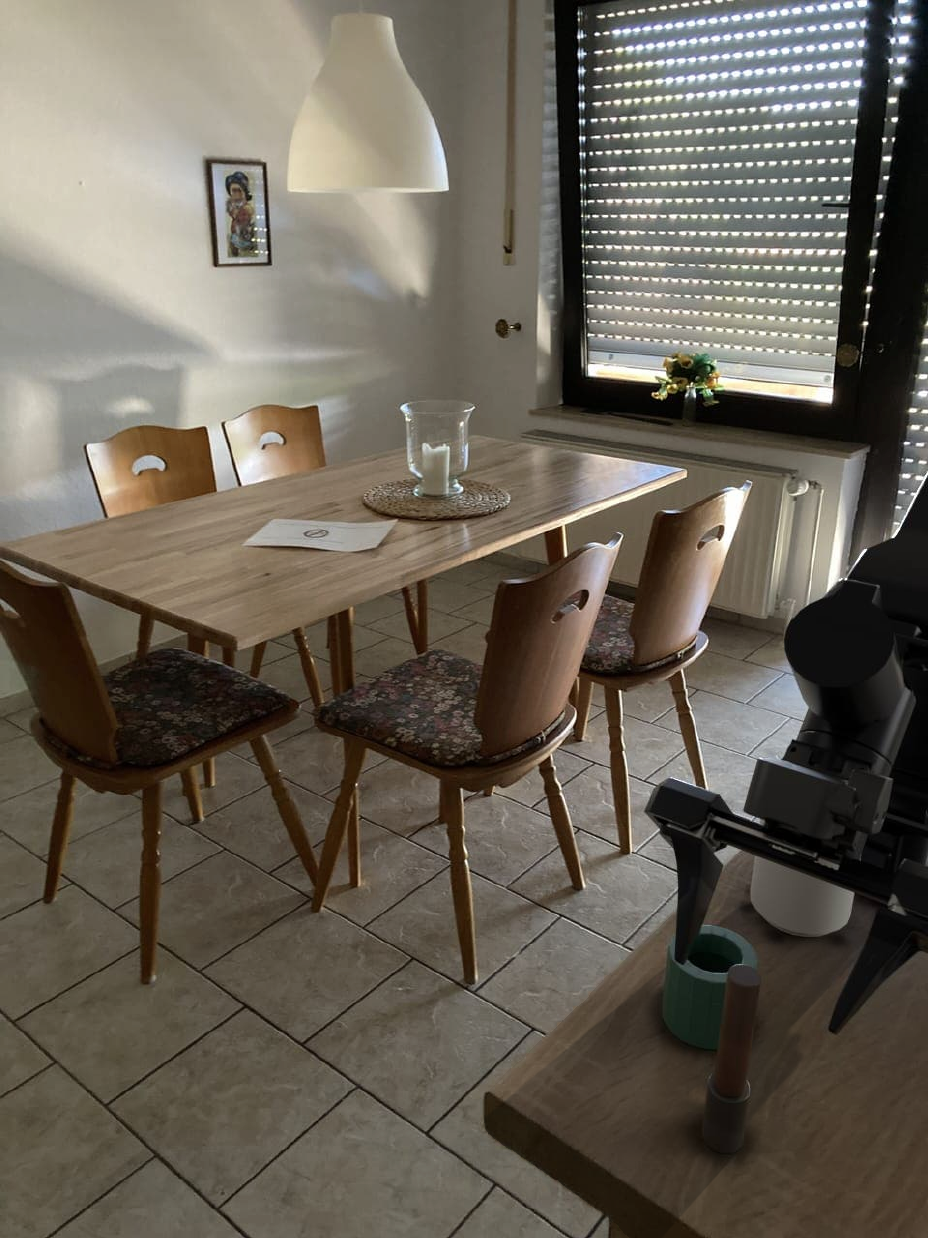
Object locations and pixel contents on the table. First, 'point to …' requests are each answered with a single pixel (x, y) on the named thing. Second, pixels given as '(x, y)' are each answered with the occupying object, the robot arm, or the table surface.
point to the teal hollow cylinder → (702, 985)
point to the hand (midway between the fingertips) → (752, 996)
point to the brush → (732, 1063)
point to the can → (798, 899)
